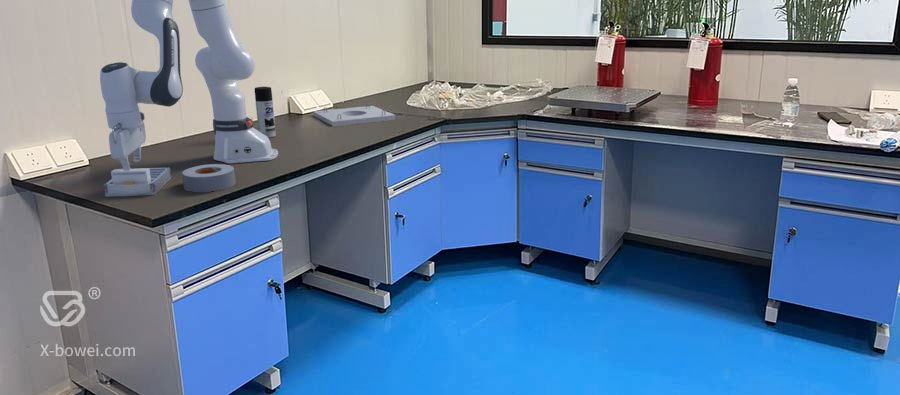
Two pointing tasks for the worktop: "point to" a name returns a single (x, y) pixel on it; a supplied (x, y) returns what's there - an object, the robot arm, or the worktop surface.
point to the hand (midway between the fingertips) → (132, 165)
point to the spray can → (265, 111)
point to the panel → (131, 175)
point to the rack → (139, 185)
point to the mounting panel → (353, 115)
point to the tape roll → (208, 178)
